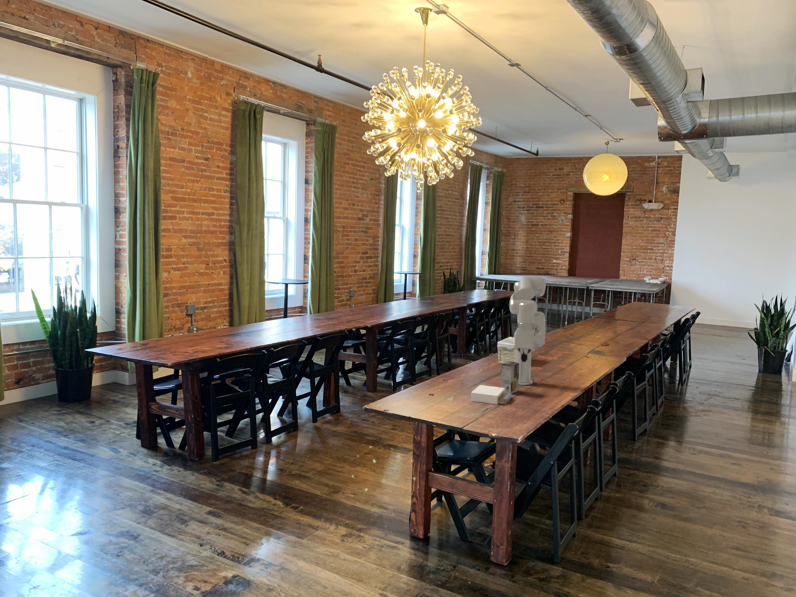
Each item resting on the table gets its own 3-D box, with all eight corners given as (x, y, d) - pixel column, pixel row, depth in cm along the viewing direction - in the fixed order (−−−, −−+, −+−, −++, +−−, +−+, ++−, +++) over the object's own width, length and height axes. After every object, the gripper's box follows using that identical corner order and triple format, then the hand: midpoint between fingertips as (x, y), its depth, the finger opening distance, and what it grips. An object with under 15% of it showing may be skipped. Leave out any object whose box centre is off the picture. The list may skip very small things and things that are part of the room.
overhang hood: (479, 392, 319) (480, 384, 319) (504, 396, 314) (505, 388, 313) (470, 400, 304) (471, 392, 303) (497, 404, 298) (497, 395, 298)
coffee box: (508, 388, 329) (509, 360, 327) (518, 391, 325) (519, 362, 323) (500, 392, 322) (501, 363, 320) (510, 394, 318) (511, 365, 316)
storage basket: (518, 366, 386) (519, 344, 384) (495, 363, 394) (496, 341, 393) (530, 359, 406) (531, 339, 404) (508, 357, 415) (509, 336, 413)
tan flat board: (479, 395, 316) (480, 389, 316) (510, 399, 309) (511, 393, 309) (474, 400, 306) (474, 394, 306) (506, 404, 299) (506, 399, 299)
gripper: (541, 326, 298) (540, 361, 300) (512, 324, 304) (511, 358, 306) (539, 328, 291) (537, 364, 293) (509, 326, 297) (508, 361, 299)
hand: (524, 361), depth 299 cm, fingers closed
